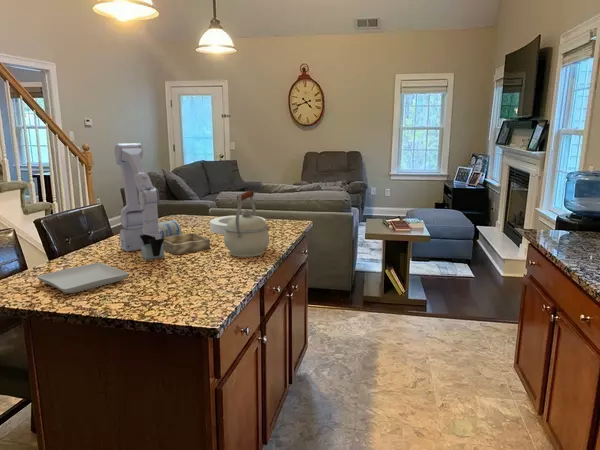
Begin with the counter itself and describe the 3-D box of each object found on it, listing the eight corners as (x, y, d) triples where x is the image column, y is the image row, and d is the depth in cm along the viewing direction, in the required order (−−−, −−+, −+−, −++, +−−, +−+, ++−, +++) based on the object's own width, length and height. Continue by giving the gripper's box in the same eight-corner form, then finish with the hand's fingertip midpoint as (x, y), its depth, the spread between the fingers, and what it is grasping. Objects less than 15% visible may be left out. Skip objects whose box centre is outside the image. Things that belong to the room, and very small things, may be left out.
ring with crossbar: (231, 222, 246) (230, 213, 246) (275, 226, 234) (275, 217, 233) (198, 232, 222) (198, 222, 221) (246, 237, 210) (246, 227, 209)
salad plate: (99, 269, 161) (98, 260, 161) (131, 282, 148) (130, 272, 147) (36, 285, 145) (35, 275, 145) (65, 300, 132) (64, 289, 131)
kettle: (261, 261, 170) (259, 196, 165) (216, 258, 174) (213, 195, 169) (277, 245, 194) (276, 188, 189) (237, 243, 198) (235, 187, 192)
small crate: (146, 260, 172) (145, 247, 171) (142, 257, 176) (141, 245, 175) (164, 257, 176) (163, 244, 175) (159, 254, 180) (158, 242, 179)
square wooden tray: (174, 254, 179) (173, 245, 178) (159, 247, 191) (158, 238, 191) (210, 248, 189) (209, 239, 188) (193, 241, 201) (193, 232, 200)
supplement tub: (185, 234, 199) (157, 240, 188) (175, 243, 205) (147, 250, 194) (176, 215, 201) (148, 220, 189) (166, 225, 207) (138, 230, 195)
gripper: (167, 221, 170) (170, 256, 172) (153, 216, 181) (155, 248, 184) (149, 224, 165) (152, 259, 168) (136, 218, 176) (138, 251, 179)
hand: (152, 253), depth 176 cm, fingers open, 7 cm apart
